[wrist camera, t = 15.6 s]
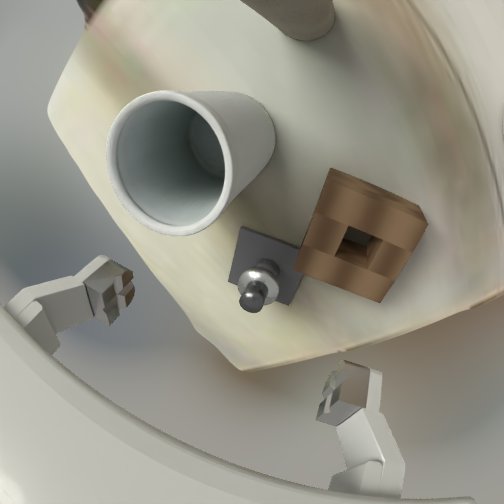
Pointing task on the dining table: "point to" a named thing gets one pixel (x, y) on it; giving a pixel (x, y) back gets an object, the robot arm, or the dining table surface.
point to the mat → (263, 246)
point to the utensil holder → (186, 156)
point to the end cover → (259, 285)
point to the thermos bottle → (297, 16)
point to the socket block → (367, 220)
